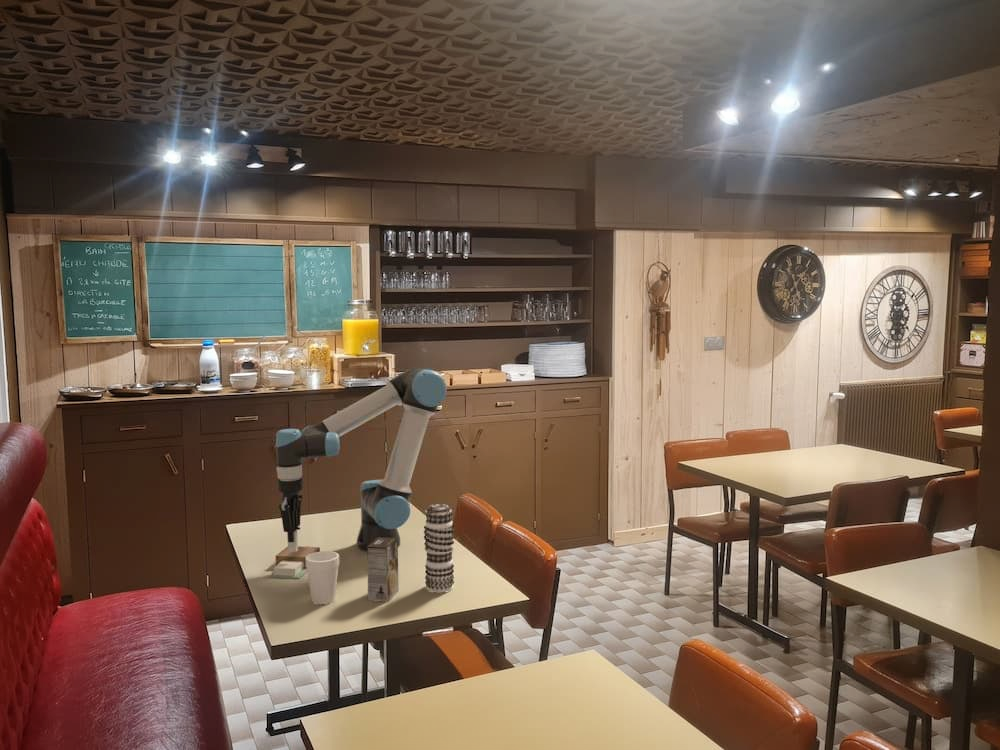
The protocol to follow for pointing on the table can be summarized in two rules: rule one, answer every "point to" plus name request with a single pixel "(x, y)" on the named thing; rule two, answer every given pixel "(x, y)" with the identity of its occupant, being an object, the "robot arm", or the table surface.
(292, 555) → the brown flat block
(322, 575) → the foam cup
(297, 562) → the tile
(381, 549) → the coffee box
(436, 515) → the decorative candle
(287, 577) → the mat
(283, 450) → the robot arm
